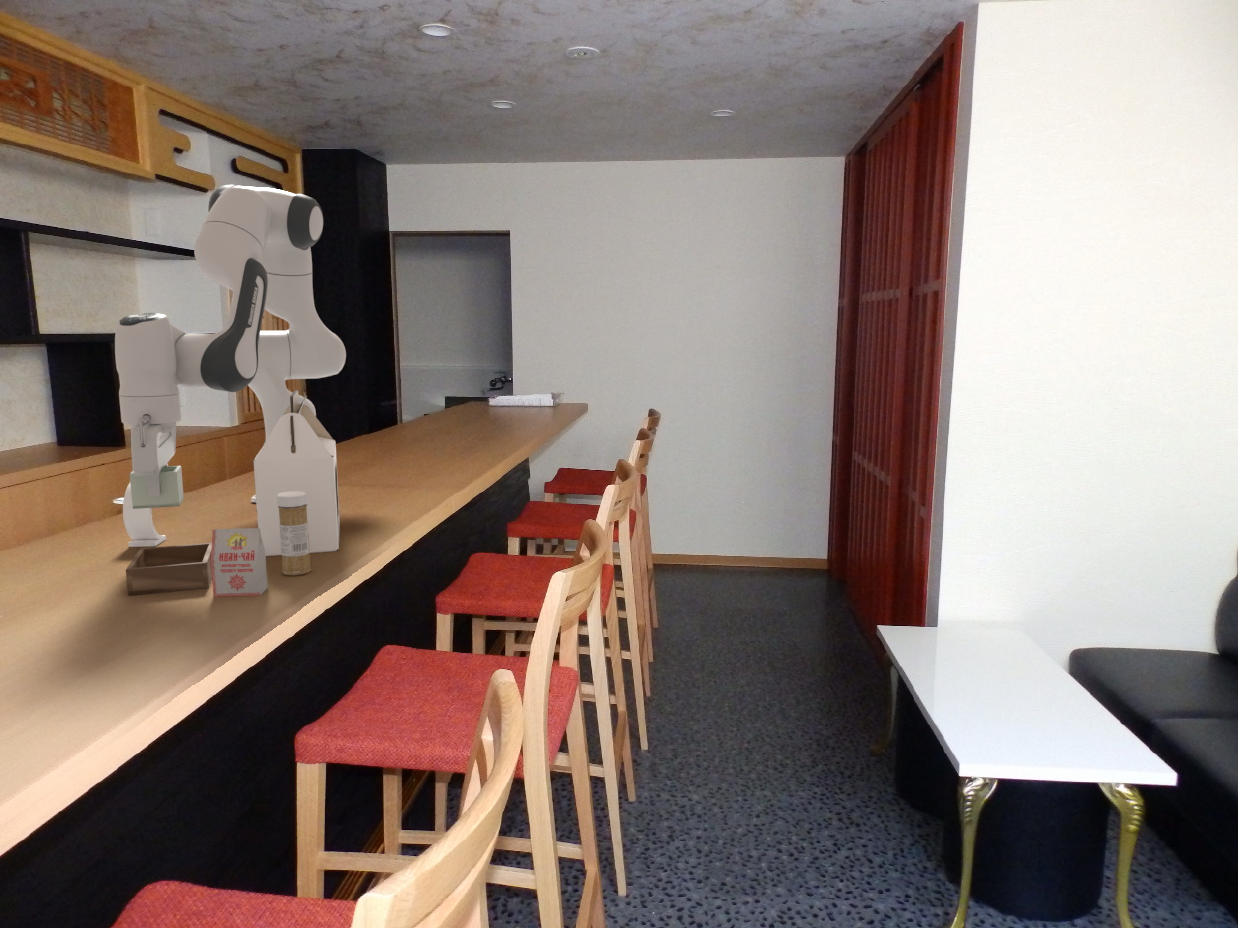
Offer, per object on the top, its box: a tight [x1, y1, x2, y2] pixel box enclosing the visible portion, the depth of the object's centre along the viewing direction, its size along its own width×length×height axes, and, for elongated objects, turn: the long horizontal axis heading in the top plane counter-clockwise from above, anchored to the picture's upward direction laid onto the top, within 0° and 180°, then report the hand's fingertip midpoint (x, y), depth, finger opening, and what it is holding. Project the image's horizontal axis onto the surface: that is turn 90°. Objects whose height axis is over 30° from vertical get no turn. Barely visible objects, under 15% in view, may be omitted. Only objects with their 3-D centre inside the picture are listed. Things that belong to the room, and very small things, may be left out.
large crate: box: [125, 542, 212, 596], centre depth 134 cm, size 13×11×4 cm
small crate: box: [129, 465, 185, 509], centre depth 143 cm, size 7×6×6 cm
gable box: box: [252, 389, 341, 557], centre depth 158 cm, size 22×13×28 cm, turn 18°
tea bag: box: [211, 527, 268, 598], centre depth 128 cm, size 4×7×10 cm, turn 96°
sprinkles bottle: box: [277, 491, 312, 576], centre depth 137 cm, size 5×5×14 cm
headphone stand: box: [122, 482, 167, 548], centre depth 155 cm, size 5×6×12 cm
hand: (158, 491), depth 143 cm, fingers closed on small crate, 5 cm apart
